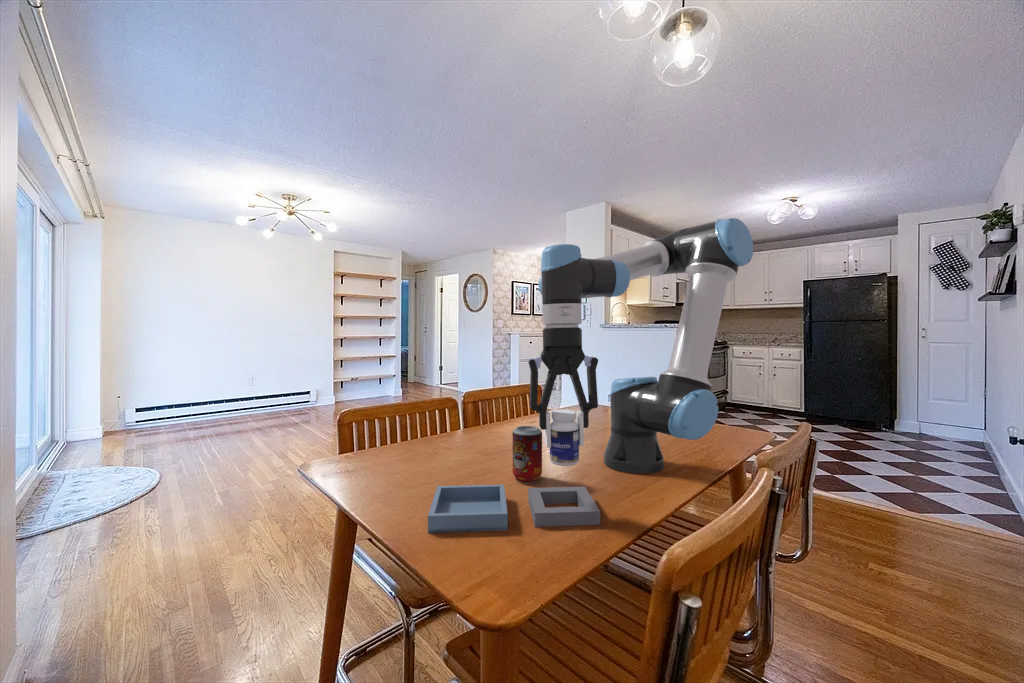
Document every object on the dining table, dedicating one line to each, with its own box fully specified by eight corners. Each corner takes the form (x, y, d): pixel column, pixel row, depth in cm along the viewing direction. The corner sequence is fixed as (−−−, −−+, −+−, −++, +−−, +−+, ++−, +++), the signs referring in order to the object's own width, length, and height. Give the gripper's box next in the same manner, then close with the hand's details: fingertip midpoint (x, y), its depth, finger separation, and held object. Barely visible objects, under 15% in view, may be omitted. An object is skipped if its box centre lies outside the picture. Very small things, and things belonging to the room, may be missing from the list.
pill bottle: (545, 464, 81) (544, 413, 80) (556, 455, 86) (555, 407, 85) (573, 468, 78) (572, 415, 78) (583, 459, 83) (582, 409, 83)
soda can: (506, 481, 98) (507, 429, 98) (521, 472, 104) (521, 423, 104) (533, 487, 95) (534, 433, 94) (546, 477, 101) (547, 426, 101)
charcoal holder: (584, 498, 88) (584, 486, 88) (600, 524, 76) (600, 511, 76) (528, 499, 88) (528, 488, 87) (534, 526, 76) (534, 513, 76)
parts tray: (504, 498, 88) (504, 484, 88) (507, 530, 74) (507, 513, 74) (437, 500, 87) (437, 486, 87) (428, 532, 73) (427, 516, 73)
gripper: (515, 327, 77) (518, 452, 78) (615, 325, 78) (617, 448, 79) (512, 327, 84) (515, 441, 85) (604, 325, 85) (605, 437, 86)
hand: (564, 444), depth 82 cm, fingers closed on pill bottle, 6 cm apart
